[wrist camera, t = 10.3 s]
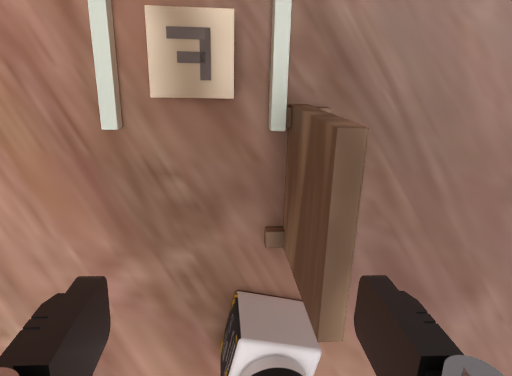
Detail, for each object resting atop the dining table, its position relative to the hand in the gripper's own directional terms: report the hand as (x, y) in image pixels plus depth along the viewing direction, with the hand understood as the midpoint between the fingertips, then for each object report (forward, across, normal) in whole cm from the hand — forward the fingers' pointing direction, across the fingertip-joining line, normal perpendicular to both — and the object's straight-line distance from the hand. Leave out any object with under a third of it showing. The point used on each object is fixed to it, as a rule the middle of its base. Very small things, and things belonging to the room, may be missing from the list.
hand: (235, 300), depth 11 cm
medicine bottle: (+21, -4, +17) cm, 28 cm away
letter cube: (+21, +3, -8) cm, 22 cm away
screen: (+21, -6, +2) cm, 22 cm away
